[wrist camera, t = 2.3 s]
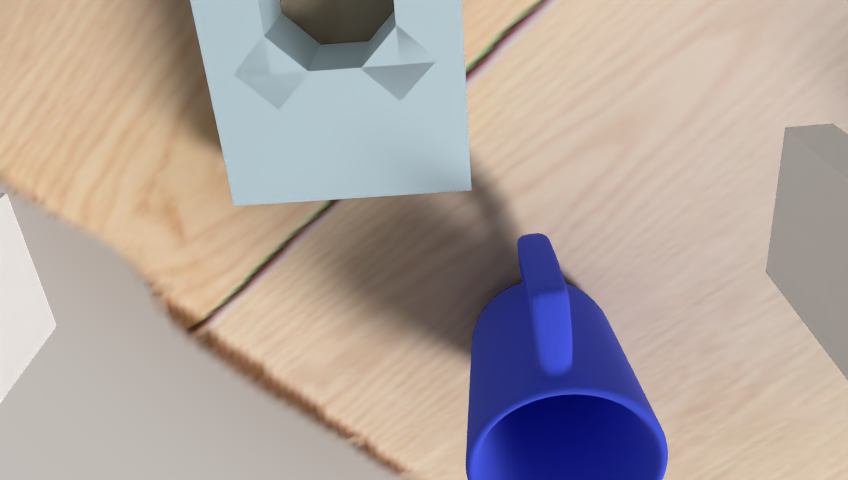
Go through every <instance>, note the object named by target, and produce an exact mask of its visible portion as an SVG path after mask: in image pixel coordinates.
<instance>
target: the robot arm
mask: <svg viewBox="0 0 848 480" xmlns="http://www.w3.org/2000/svg"><path fill="white" fill-rule="evenodd" d="M766 273H767V274H768V276H769V277H770V278H771V279H772V281H773V282H774V283H775V285H776V286H777V287H778V289H779V290H780V291H781V293H782V294H783V295H784V297H785V298H786V299H787V301H788V302H789V303H790V305H791V306H792V307H793V309H794V310H795V311H796V313H797V314H798V315H799V316H800V318H801V319H802V320H803V322H804V323H805V324H806V326H807V327H808V328H809V330H810V331H811V332H812V334H813V335H814V336H815V338H816V339H817V340H818V342H819V343H820V344H821V346H822V347H823V348H824V350H825V351H826V352H827V353H828V355H829V356H830V357H831V359H832V360H833V361H834V363H835V364H836V365H837V367H838V368H839V369H840V371H841V372H842V373H843V375H844V376H845V377H846V379H847V380H848V134H846V133H845V132H843V131H842V130H841V129H839V128H838V127H837V126H835V125H834V124H823V125H811V126H799V127H787V128H785V133H784V141H783V148H782V156H781V163H780V171H779V178H778V185H777V193H776V200H775V208H774V215H773V223H772V230H771V237H770V245H769V252H768V260H767V267H766ZM55 328H56V323H55V320H54V318H53V315H52V312H51V310H50V307H49V304H48V302H47V300H46V296H45V294H44V291H43V288H42V286H41V283H40V280H39V278H38V275H37V272H36V270H35V267H34V265H33V262H32V259H31V257H30V254H29V251H28V249H27V246H26V244H25V241H24V238H23V235H22V233H21V230H20V227H19V225H18V222H17V219H16V217H15V214H14V211H13V209H12V206H11V203H10V201H9V198H8V196H7V193H0V403H1V402H2V400H3V399H4V398H5V396H6V395H7V393H8V392H9V391H10V389H11V388H12V387H13V385H14V384H15V382H16V381H17V380H18V378H19V377H20V376H21V374H22V373H23V371H24V370H25V369H26V367H27V366H28V365H29V363H30V362H31V360H32V359H33V358H34V356H35V355H36V353H37V352H38V351H39V350H40V348H41V347H42V345H43V344H44V343H45V341H46V340H47V339H48V337H49V336H50V334H51V333H52V332H53V330H54V329H55Z"/></svg>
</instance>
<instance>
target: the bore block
mask: <svg viewBox="0 0 848 480" xmlns="http://www.w3.org/2000/svg"><path fill="white" fill-rule="evenodd" d="M190 2H191V7H192V12H193V16H194V21H195V26H196V30H197V35H198V40H199V44H200V49H201V54H202V58H203V63H204V68H205V72H206V77H207V82H208V86H209V91H210V96H211V101H212V105H213V110H214V115H215V119H216V124H217V129H218V133H219V138H220V143H221V147H222V152H223V157H224V161H225V166H226V171H227V175H228V180H229V185H230V189H231V194H232V199H233V203H234V206H243V205H259V204H274V203H289V202H304V201H319V200H334V199H350V198H365V197H380V196H395V195H410V194H425V193H440V192H456V191H471V171H470V152H469V132H468V113H467V94H466V75H465V55H464V36H463V17H462V0H394V11H393V12H392V14H391V15H390V16H389V17H388V18H387V20H386V21H385V22H384V23H383V25H382V26H381V27H380V28H379V29H378V31H377V32H376V33H375V34H374V35H373V37H372V38H371V39H370V40H369V41H363V42H349V43H336V44H323V45H321V44H320V43H318V42H317V41H316V40H315V39H313V38H312V37H311V36H310V35H309V34H307V33H306V32H305V31H304V30H302V29H301V28H300V27H299V26H298V25H296V24H295V23H294V22H293V21H291V20H290V19H289V18H288V17H287V16H285V15H284V14H283V13H282V11H281V5H280V0H190Z"/></svg>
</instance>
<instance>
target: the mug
mask: <svg viewBox="0 0 848 480" xmlns="http://www.w3.org/2000/svg"><path fill="white" fill-rule="evenodd" d="M517 246H518V255H519V263H520V270H521V276H522V281H523V283H520V284H517V285H514V286H512V287H510V288H508V289H506V290H504V291H503V292H501V293H499V294H498V295H497V296H496V297H495V298H493V299H492V300H491V301H490V302H489V303H488V305H487V306H486V307H485V308H484V310H483V311H482V313H481V315H480V317H479V318H478V321H477V323H476V326H475V329H474V333H473V338H472V350H471V370H470V390H469V410H468V430H467V450H466V473H467V478H468V480H662V479H663V477H664V474H665V471H666V466H667V459H668V450H667V443H666V438H665V435H664V432H663V430H662V428H661V426H660V424H659V422H658V420H657V418H656V416H655V414H654V412H653V410H652V408H651V406H650V404H649V402H648V400H647V398H646V396H645V394H644V392H643V390H642V388H641V386H640V384H639V382H638V380H637V378H636V376H635V374H634V372H633V370H632V368H631V366H630V364H629V362H628V360H627V358H626V356H625V354H624V352H623V350H622V348H621V346H620V344H619V342H618V340H617V338H616V336H615V334H614V332H613V330H612V328H611V326H610V324H609V322H608V320H607V318H606V316H605V315H604V313H603V311H602V310H601V309H600V307H599V306H598V305H597V304H596V303H595V301H594V300H592V299H591V298H590V297H589V296H588V295H587V294H585V293H584V292H583V291H581V290H579V289H578V288H576V287H574V286H572V285H569V284H566V283H565V281H564V278H563V275H562V272H561V269H560V266H559V263H558V261H557V258H556V255H555V253H554V250H553V248H552V245H551V243H550V241H549V239H548V238H547V236H545V235H543V234H539V233H538V234H528V235H524V236H522V237H520V238H519V239H518V244H517Z"/></svg>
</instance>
